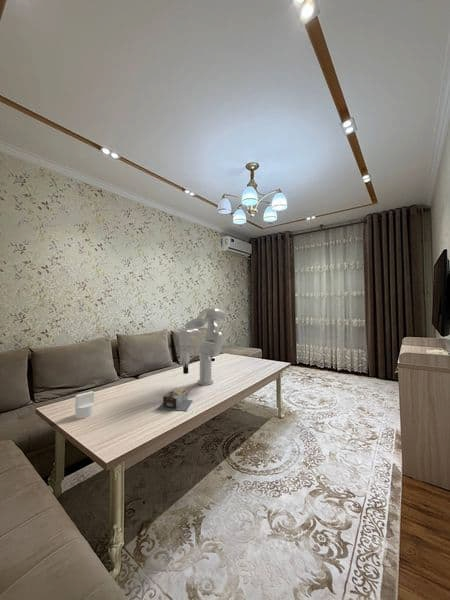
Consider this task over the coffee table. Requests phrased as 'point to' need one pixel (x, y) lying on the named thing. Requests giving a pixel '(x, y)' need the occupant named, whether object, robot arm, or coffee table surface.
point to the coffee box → (175, 398)
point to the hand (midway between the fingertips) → (185, 373)
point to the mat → (182, 407)
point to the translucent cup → (84, 405)
